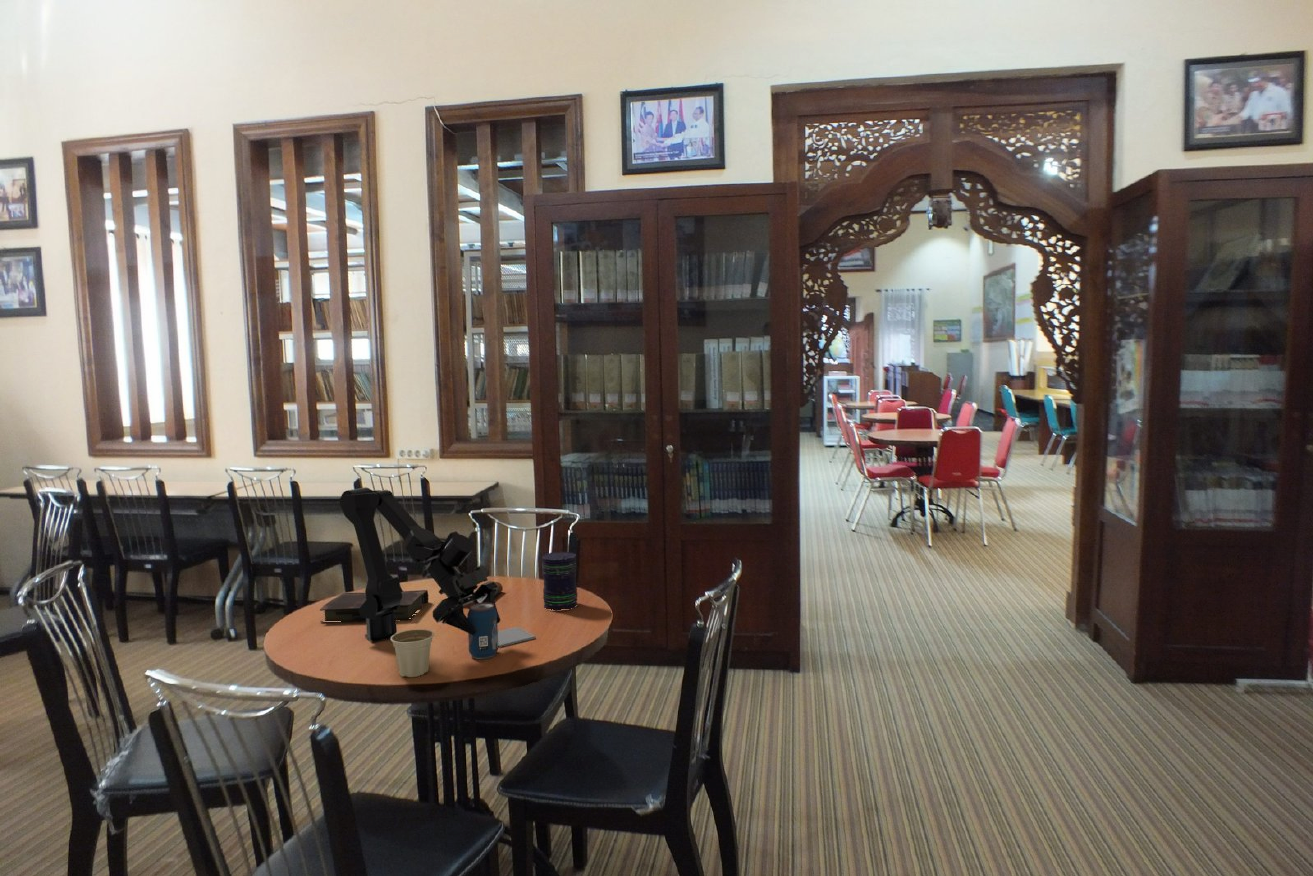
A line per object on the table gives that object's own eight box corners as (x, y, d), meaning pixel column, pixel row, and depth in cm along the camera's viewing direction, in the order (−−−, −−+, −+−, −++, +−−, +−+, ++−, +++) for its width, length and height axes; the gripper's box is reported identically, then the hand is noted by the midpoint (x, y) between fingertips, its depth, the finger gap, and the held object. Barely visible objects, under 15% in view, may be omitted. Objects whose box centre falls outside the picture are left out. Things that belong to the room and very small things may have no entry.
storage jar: (537, 606, 222) (535, 555, 221) (565, 599, 229) (563, 550, 228) (555, 613, 215) (553, 561, 214) (584, 606, 221) (582, 555, 220)
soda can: (469, 651, 186) (467, 603, 186) (498, 648, 188) (496, 600, 187) (469, 661, 180) (466, 611, 179) (499, 658, 181) (496, 608, 180)
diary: (345, 607, 229) (344, 591, 229) (428, 604, 230) (428, 588, 230) (319, 626, 211) (318, 608, 211) (410, 623, 211) (409, 605, 211)
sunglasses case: (476, 591, 240) (486, 573, 239) (496, 602, 239) (505, 585, 238) (454, 608, 222) (465, 589, 221) (475, 621, 222) (485, 602, 221)
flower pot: (420, 662, 180) (418, 626, 180) (444, 670, 174) (442, 633, 174) (384, 674, 173) (382, 637, 172) (407, 684, 167) (405, 645, 166)
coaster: (499, 647, 188) (499, 645, 188) (482, 637, 196) (482, 635, 196) (535, 638, 194) (535, 636, 194) (517, 628, 202) (517, 626, 202)
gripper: (439, 566, 175) (480, 618, 171) (490, 549, 192) (528, 596, 188) (415, 596, 179) (454, 648, 175) (467, 577, 196) (504, 624, 192)
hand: (487, 628), depth 183 cm, fingers open, 9 cm apart
